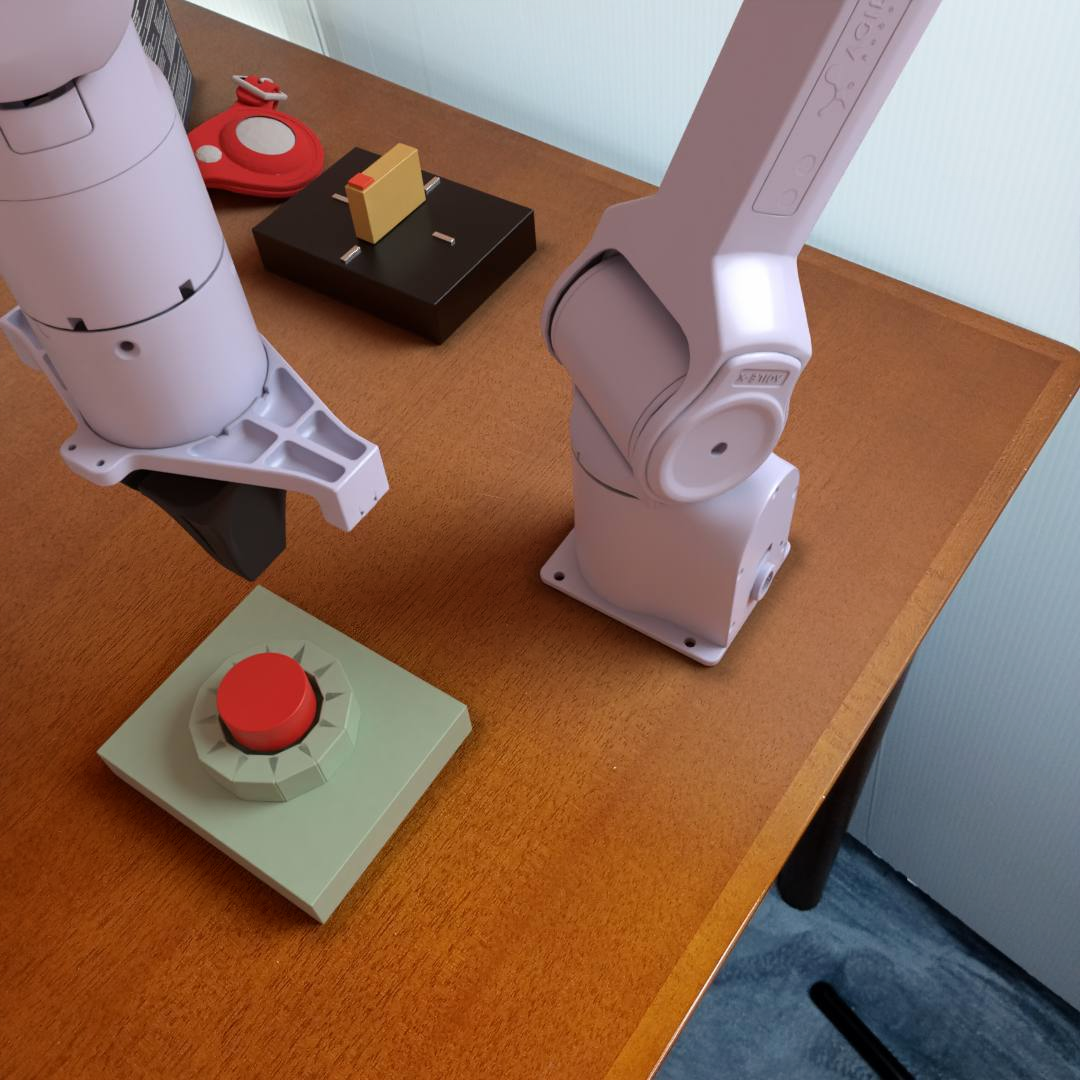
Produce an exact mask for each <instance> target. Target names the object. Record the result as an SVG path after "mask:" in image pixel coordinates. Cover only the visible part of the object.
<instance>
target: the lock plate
mask: <svg viewBox="0 0 1080 1080" xmlns="http://www.w3.org/2000/svg"><path fill="white" fill-rule="evenodd" d="M382 156H383V155H382V154H379V153H375V152H373V151H369V150H367V149H365V148H361V147H359V146H354V147H353V148H352V149H350V150H349V151H348V152H347V153H345V155H343V156H342V157H341V158H339V159H338V160H337V161H335V162H334V163H332V165H330V166H329V167H328V168H327V169H326V170H323V171H322V174H320V175H319V176H318V177H317V178H315V179H314V180H313V181H312V182H310V183H309V184H308V185H307V186H305V187H304V188H303V189H302V190H300V191H299V192H298V193H297V194H295V195H294V196H291V197H289V199H288V200H286V201H285V202H284V203H283V204H281V205H280V206H279V207H277V208H276V209H275V210H274V211H272V212H271V213H270V214H269V215H268V216H266V217H264V219H262V220H261V221H260V222H258V224H256V225H255V226H253V227H252V228H251V232H252V235H253V239H254V242H255V246H256V249H257V252H258V254H259V257H260V260H261V264H262V266H263V269H264V270H265V271H266V270H267V272H271V273H273V274H276V275H277V276H280V277H282V278H285V279H287V280H289V281H291V282H294V283H296V284H299V285H300V286H301V285H302V286H303V287H306V288H308V289H310V290H312V291H315V292H317V293H319V294H321V295H323V296H324V295H325V296H327V297H329V298H332V299H334V300H336V301H338V302H341V303H343V304H345V305H348V306H350V307H352V308H355V309H357V310H359V311H362V312H364V313H366V314H369V315H371V316H373V317H376V318H378V319H379V320H383V321H385V322H387V323H390V324H391V325H394V326H397V327H399V328H401V329H404V330H406V331H408V332H410V333H412V334H415V335H417V336H420V337H422V338H425V339H427V340H429V341H432V342H434V343H436V344H438V345H443V344H444V343H445V342H446V341H447V340H448V339H449V338H450V337H451V336H452V335H453V334H454V333H455V332H456V331H457V330H458V329H459V328H460V327H461V326H462V325H463V324H464V323H465V322H466V321H467V320H468V319H469V318H470V317H471V316H472V315H473V314H474V313H475V312H476V311H477V310H478V309H479V308H480V307H481V306H482V305H483V304H484V303H485V302H486V301H487V300H488V299H489V298H490V297H491V296H492V295H493V294H494V293H495V292H496V291H497V290H498V289H499V288H500V287H501V286H502V285H503V284H504V283H505V282H506V281H507V280H508V279H510V277H512V275H514V273H515V272H516V271H517V270H519V269H520V267H521V266H522V265H523V264H524V263H525V262H526V261H527V260H528V259H530V257H531V256H533V254H534V253H535V252H536V251H537V250H538V249H537V248H538V247H537V235H536V234H537V233H536V222H535V221H536V219H535V210H534V209H533V208H530V207H527V206H525V205H523V204H519V203H516V202H513V201H511V200H508V199H505V198H502V197H499V196H497V195H493V194H491V193H488V192H486V191H483V190H480V189H477V188H474V187H471V186H468V185H465V184H463V183H460V182H458V181H455V180H451V179H449V178H446V177H443V176H440V175H437V174H435V173H432V172H429V171H426V170H423V169H421V174H422V180H423V186H424V192H425V198H426V200H425V201H424V202H423V203H422V204H420V205H419V206H418V207H417V208H416V209H415V210H413V211H412V212H411V213H410V214H409V215H408V216H406V217H405V218H404V219H403V220H402V221H401V222H399V223H398V224H397V225H396V226H395V227H394V228H392V229H391V230H390V231H389V232H388V233H387V234H385V235H384V236H383V237H382V238H381V239H380V240H378V241H377V242H376V243H375V244H373V243H370V242H368V241H365V240H363V239H360V238H358V237H357V236H356V232H355V228H354V224H353V219H352V215H351V211H350V207H349V202H348V198H347V194H346V190H345V186H346V185H347V184H348V181H349V180H350V179H352V178H353V177H354V176H355V175H357V174H358V173H362V172H363V171H365V170H366V169H367V168H368V167H370V166H371V165H372V164H373V163H375V162H376V161H377V160H378V159H380V158H381V157H382Z"/></svg>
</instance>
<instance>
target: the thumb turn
mask: <svg viewBox="0 0 1080 1080" xmlns="http://www.w3.org/2000/svg"><path fill="white" fill-rule="evenodd" d="M381 156H382V157H381V158H380V159H378V160H377V161H376V162H375V163H373V164H372V165H371V166H370V167H368V168H367V169H366V170H365V171H363V172H362V173H358V174H357V175H355V176H354V177H353V178H352V179H350V180H349V181H348V184H347V185H346V186H345V190H346V194H347V198H348V202H349V207H350V211H351V215H352V219H353V224H354V228H355V232H356V236H357V237H358V238H360V239H363V240H365V241H368V242H370V243H373V244H375V243H376V242H377V241H378V240H380V239H381V238H382V237H383V236H384V235H385V234H387V233H388V232H389V231H390V230H391V229H392V228H394V227H395V226H396V225H397V224H398V223H399V222H401V221H402V220H403V219H404V218H405V217H406V216H408V215H409V214H410V213H411V212H412V211H413V210H415V209H416V208H417V207H418V206H419V205H420V204H422V203H423V202H424V201H425V200H426V198H425V192H424V186H423V180H422V174H421V170H422V168H421V162H420V157H419V150H418V149H417V148H416V147H412V146H410V145H408V144H404V143H403V142H402V143H401V142H398V143H397V144H396V145H394V146H393V147H391V149H389V150H388V151H387V152H386V153H384V154H383V155H381Z"/></svg>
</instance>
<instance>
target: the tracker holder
mask: <svg viewBox="0 0 1080 1080" xmlns="http://www.w3.org/2000/svg"><path fill="white" fill-rule="evenodd" d="M230 80H231V82H232V83H234V84H237V85H238V86H237V87H236V90H235V93H236V98H237V99H236V101H234V103H233V104H231V106H230V107H229V108H227V110H224V111H223V112H220V113H218V114H216V115H214V116H213V117H211V118H210V119H207V120H205V121H204V122H203V123H201V124H200V125H198V126H197V127H195V128H193V129H192V130H190V132H189V133H187V137H188V140H189V142H190V145H191V148H192V151H193V153H194V156H195V159H196V162H197V164H198V167H199V170H200V173H201V176H202V178H203V181H204V184H205V187H206V189H208V188H209V189H220V190H225V191H229V192H232V193H235V194H242V195H247V196H253V197H261V198H271V199H272V198H273V199H283V198H284V199H286V198H292V197H293V196H294V195H295V194H297V193H298V192H299V191H300V190H302V189H303V188H304V187H305V186H307V185H308V184H309V183H310V182H312V181H313V180H314V179H315V178H317V177H318V176H319V175H320V174H322V173H323V172H324V163H325V151H324V146H323V144H322V141H321V140H320V139H319V137H318V136H317V135H316V133H315V132H314V131H313V130H312V129H311V128H310V127H308V126H307V124H305V123H304V122H302V121H301V120H299V119H297V117H296V118H295V117H294V116H292V115H291V114H287V113H286V112H282V111H279V110H277V108H278V105H279V102H280V101H287V100H288V95H287V94H286V93H284V92H282V91H281V89H280V85H279V84H277V83H274V80H272V79H271V78H269V77H258V76H256V75H253V74H250V75H237V74H236V75H231V76H230Z"/></svg>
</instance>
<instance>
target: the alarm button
mask: <svg viewBox="0 0 1080 1080" xmlns="http://www.w3.org/2000/svg"><path fill="white" fill-rule="evenodd" d="M216 702H217V708H218V712H219V714H220V716H221V718H222V719H223V721H224V722H225V724H226V726H227V727H228V729H229V730H230V732H231V734H232V735H233V737H234V738H235V739H236V740H237V742H239V743H240V744H241V745H243V746H244V747H246V748H249V749H251V750H255V751H274V750H278V749H282V748H284V747H287V746H289V745H290V744H292V743H294V742H295V741H297V740H298V739H299V738H300V737H301V736H302V735H303V734H304V733H305V732H306V731H307V730H308V728H309V727H310V725H311V723H312V721H313V719H314V716H315V713H316V697H315V694H314V691H313V689H312V687H311V685H310V683H309V680H308V678H307V676H306V674H305V672H304V670H303V668H302V667H301V665H300V664H299V663H298V662H297V661H295V660H294V659H293V658H291V657H289V656H286V655H284V654H280V653H273V652H268V653H260V654H256V655H252V656H250V657H247V658H245V659H243V660H242V661H240V662H239V663H237V664H236V665H235V666H233V667H232V668H231V669H230V670H229V671H228V672H227V674H226V675H225V676H224V678H223V679H222V681H221V683H220V685H219V688H218V692H217V700H216Z"/></svg>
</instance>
